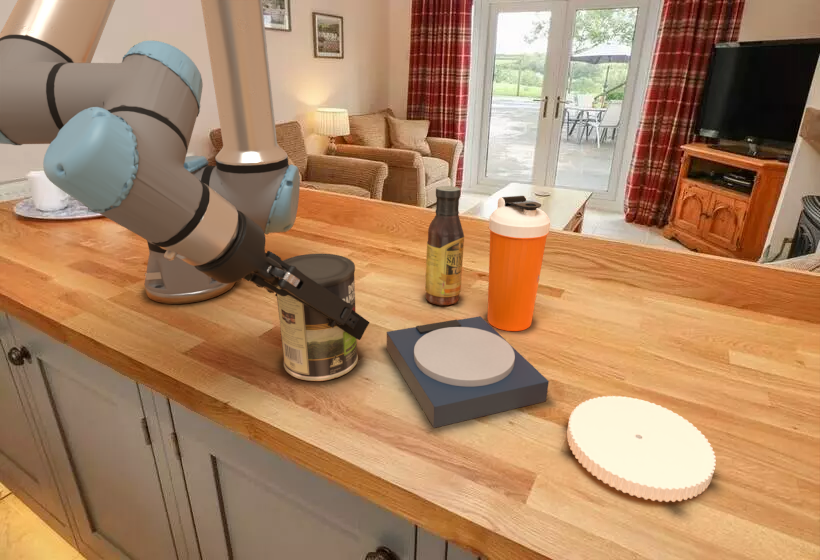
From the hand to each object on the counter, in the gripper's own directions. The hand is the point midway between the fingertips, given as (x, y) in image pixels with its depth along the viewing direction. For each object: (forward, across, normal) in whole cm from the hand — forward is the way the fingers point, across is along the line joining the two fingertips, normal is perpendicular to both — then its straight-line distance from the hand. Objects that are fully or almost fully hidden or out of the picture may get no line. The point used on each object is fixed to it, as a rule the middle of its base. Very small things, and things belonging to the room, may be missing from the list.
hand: (335, 317), depth 68 cm
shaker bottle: (+22, +14, +13) cm, 29 cm away
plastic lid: (+9, +39, +1) cm, 40 cm away
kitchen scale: (+9, +16, +1) cm, 19 cm away
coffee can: (+2, 0, -6) cm, 6 cm away
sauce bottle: (+21, +1, +13) cm, 25 cm away
